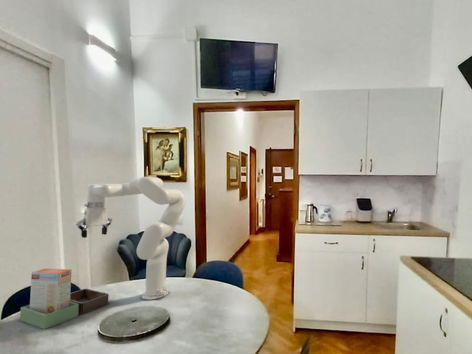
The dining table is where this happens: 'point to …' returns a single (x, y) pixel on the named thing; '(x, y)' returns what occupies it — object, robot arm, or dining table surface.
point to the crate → (94, 296)
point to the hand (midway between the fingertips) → (94, 235)
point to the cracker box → (50, 290)
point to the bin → (48, 316)
